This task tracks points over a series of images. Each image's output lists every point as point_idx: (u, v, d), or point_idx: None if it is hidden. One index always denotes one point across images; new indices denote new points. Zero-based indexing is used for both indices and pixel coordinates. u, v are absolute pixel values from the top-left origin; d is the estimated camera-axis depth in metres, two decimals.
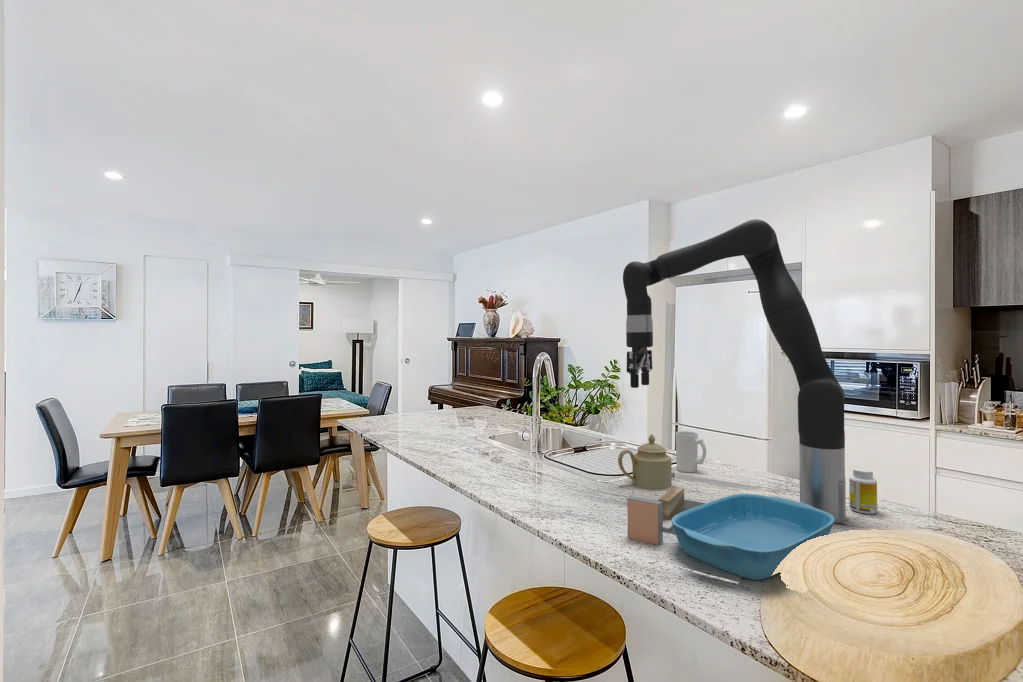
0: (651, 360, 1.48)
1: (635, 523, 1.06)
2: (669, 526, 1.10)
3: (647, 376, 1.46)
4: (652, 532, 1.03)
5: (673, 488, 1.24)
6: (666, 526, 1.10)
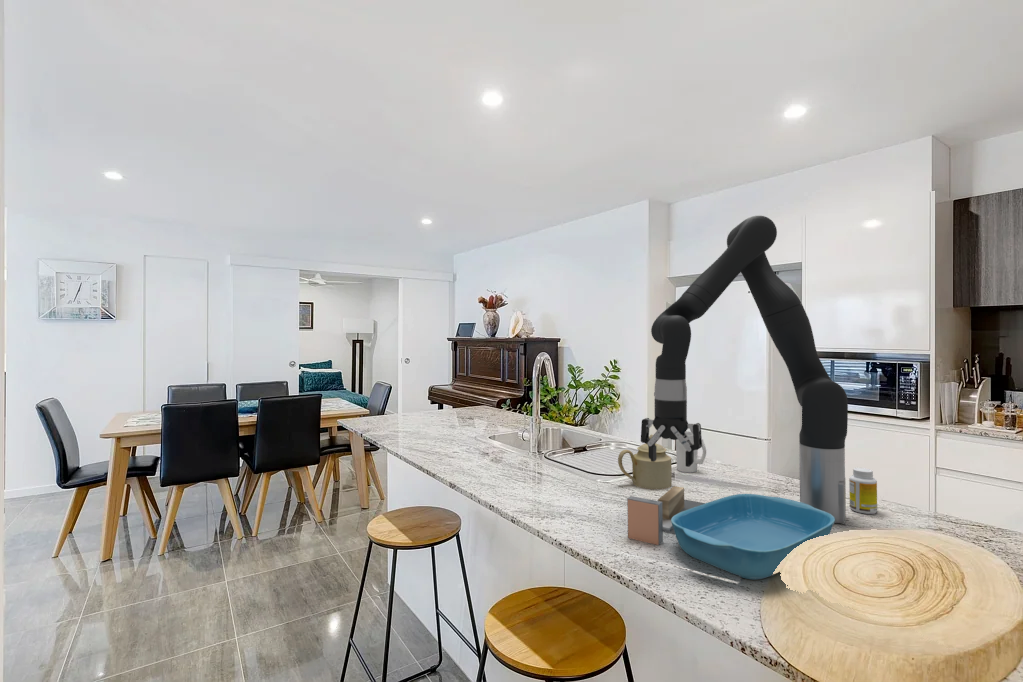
0: None
1: (635, 523, 1.06)
2: (669, 526, 1.10)
3: None
4: (652, 532, 1.03)
5: (673, 488, 1.24)
6: (666, 526, 1.10)
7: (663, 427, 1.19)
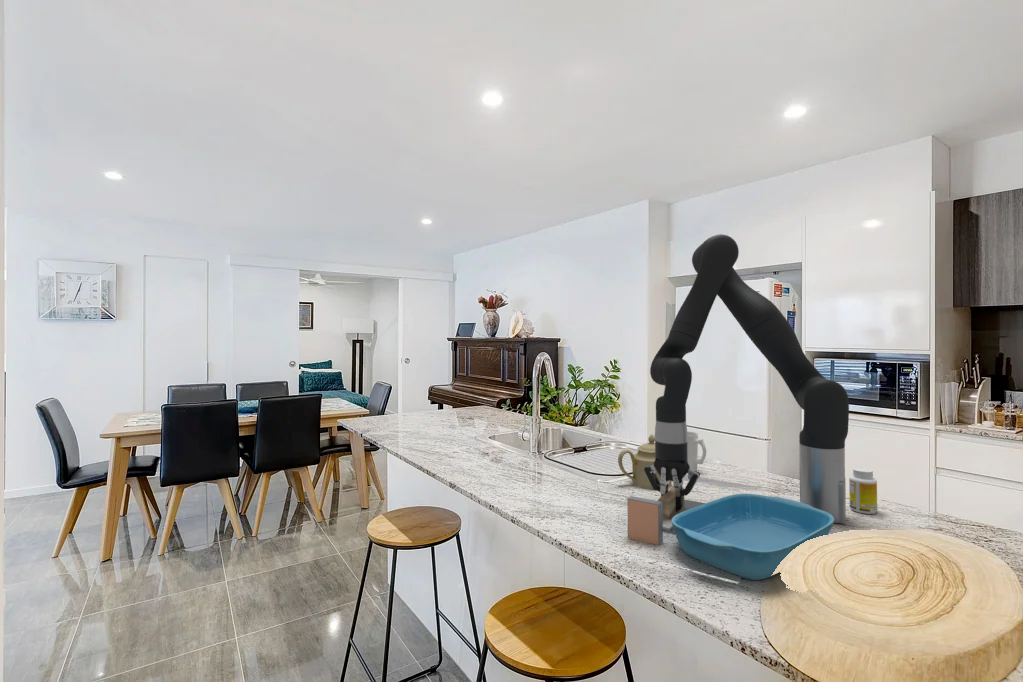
0: None
1: (635, 523, 1.06)
2: (669, 526, 1.10)
3: None
4: (652, 532, 1.03)
5: (673, 488, 1.24)
6: (666, 526, 1.10)
7: (664, 469, 1.19)
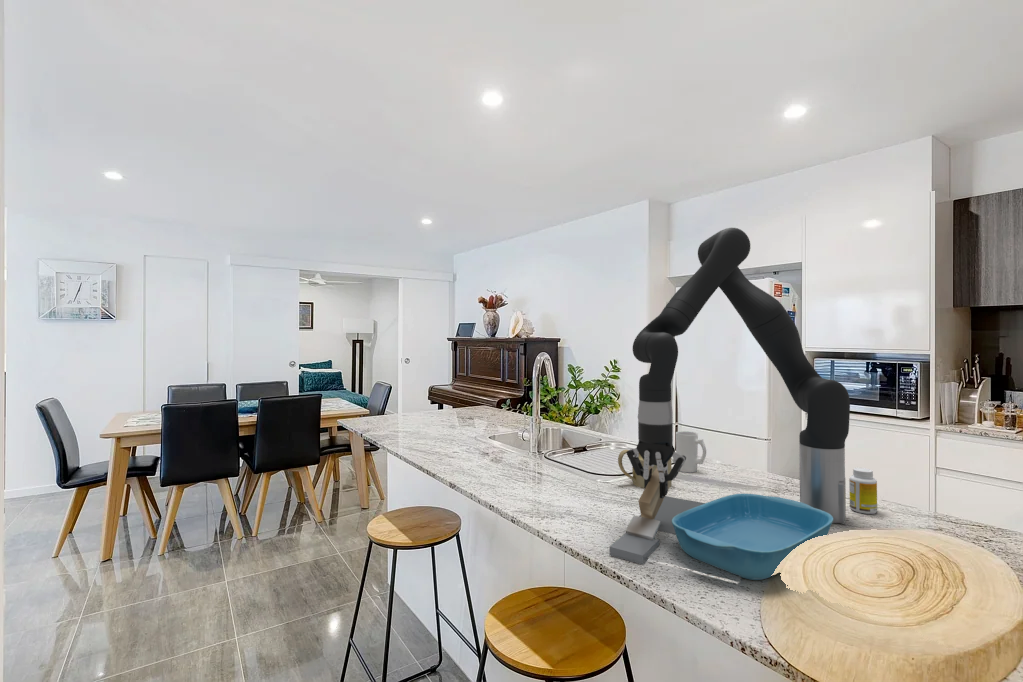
0: None
1: None
2: (652, 533, 1.03)
3: None
4: None
5: (655, 473, 1.14)
6: (649, 534, 1.03)
7: (647, 452, 1.11)
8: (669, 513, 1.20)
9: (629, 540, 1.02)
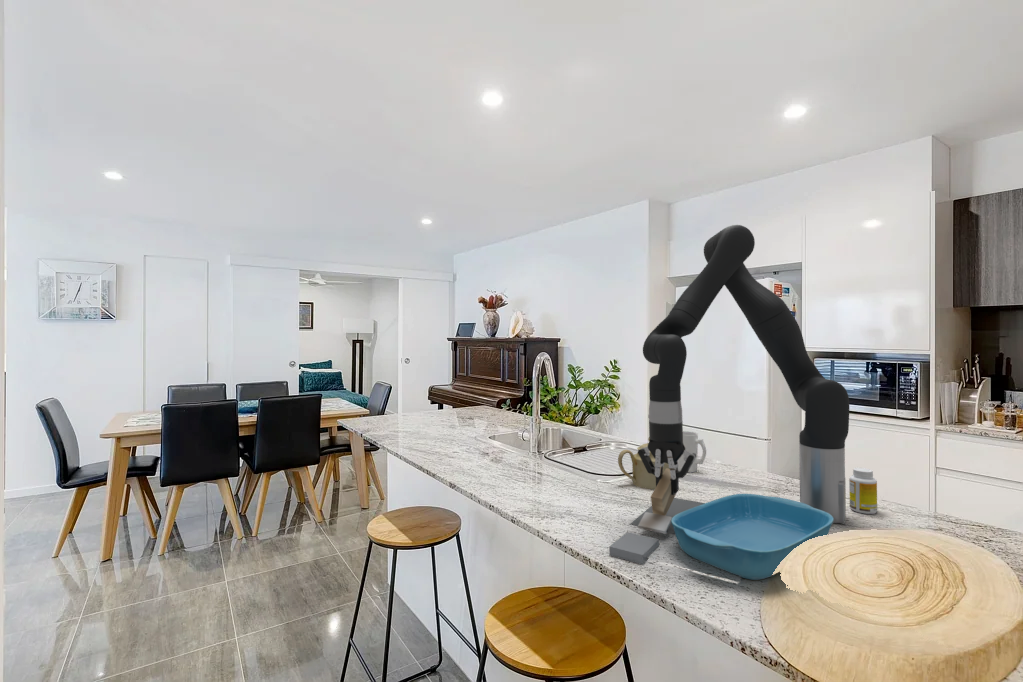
0: None
1: None
2: (665, 527, 1.05)
3: None
4: None
5: (665, 473, 1.17)
6: (662, 528, 1.05)
7: (658, 450, 1.14)
8: (669, 513, 1.20)
9: (629, 540, 1.02)
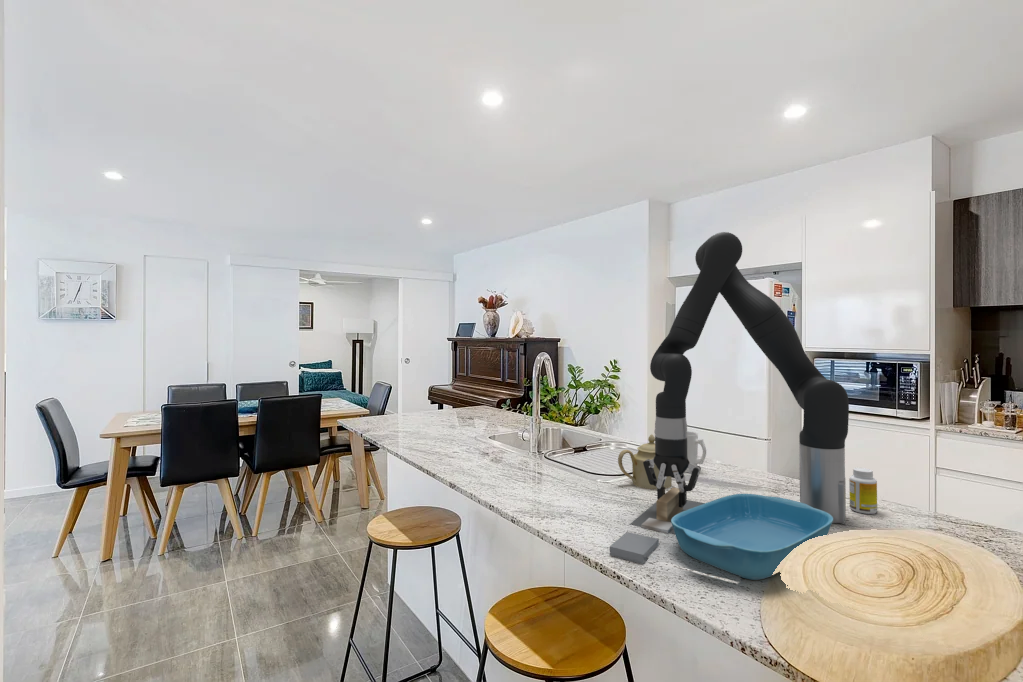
0: None
1: None
2: (667, 528, 1.09)
3: (664, 491, 1.22)
4: None
5: (672, 489, 1.23)
6: (664, 528, 1.09)
7: (664, 465, 1.19)
8: None
9: (629, 540, 1.02)
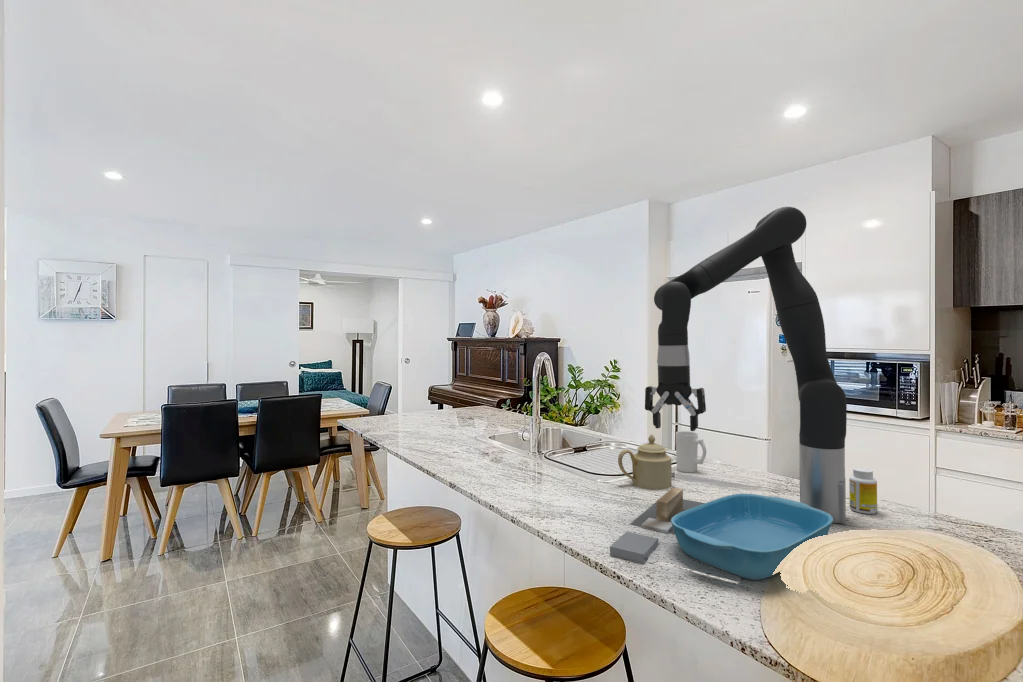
0: None
1: None
2: (667, 528, 1.09)
3: (660, 417, 1.24)
4: None
5: (672, 489, 1.23)
6: (664, 528, 1.09)
7: (667, 393, 1.20)
8: None
9: (629, 540, 1.02)
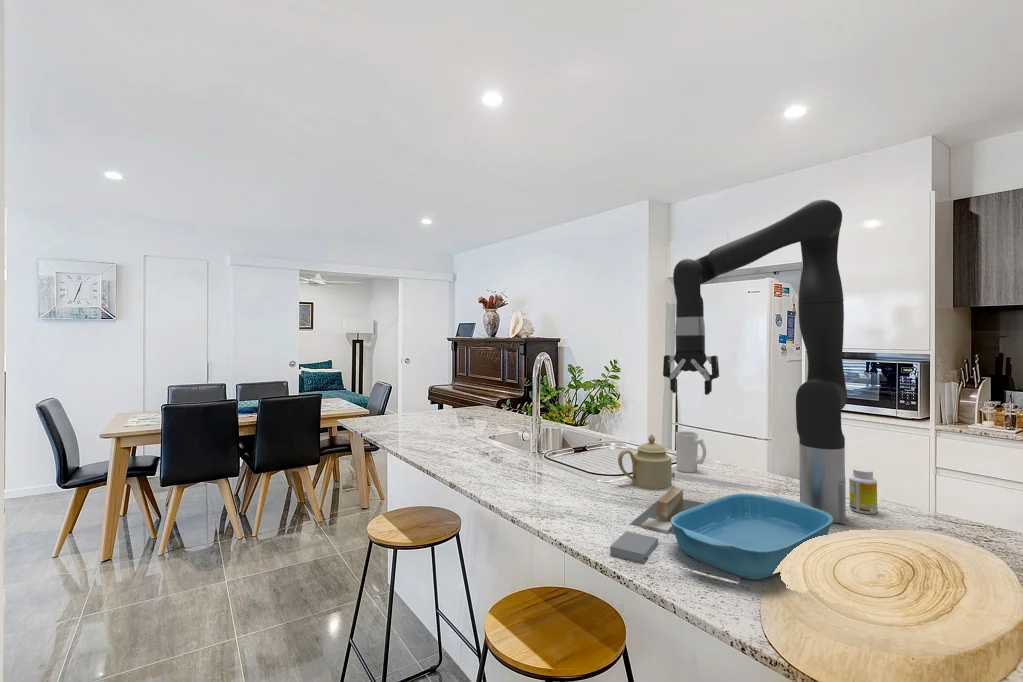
0: None
1: None
2: (667, 528, 1.09)
3: None
4: None
5: (672, 489, 1.23)
6: (664, 528, 1.09)
7: (684, 360, 1.32)
8: None
9: (629, 540, 1.02)
